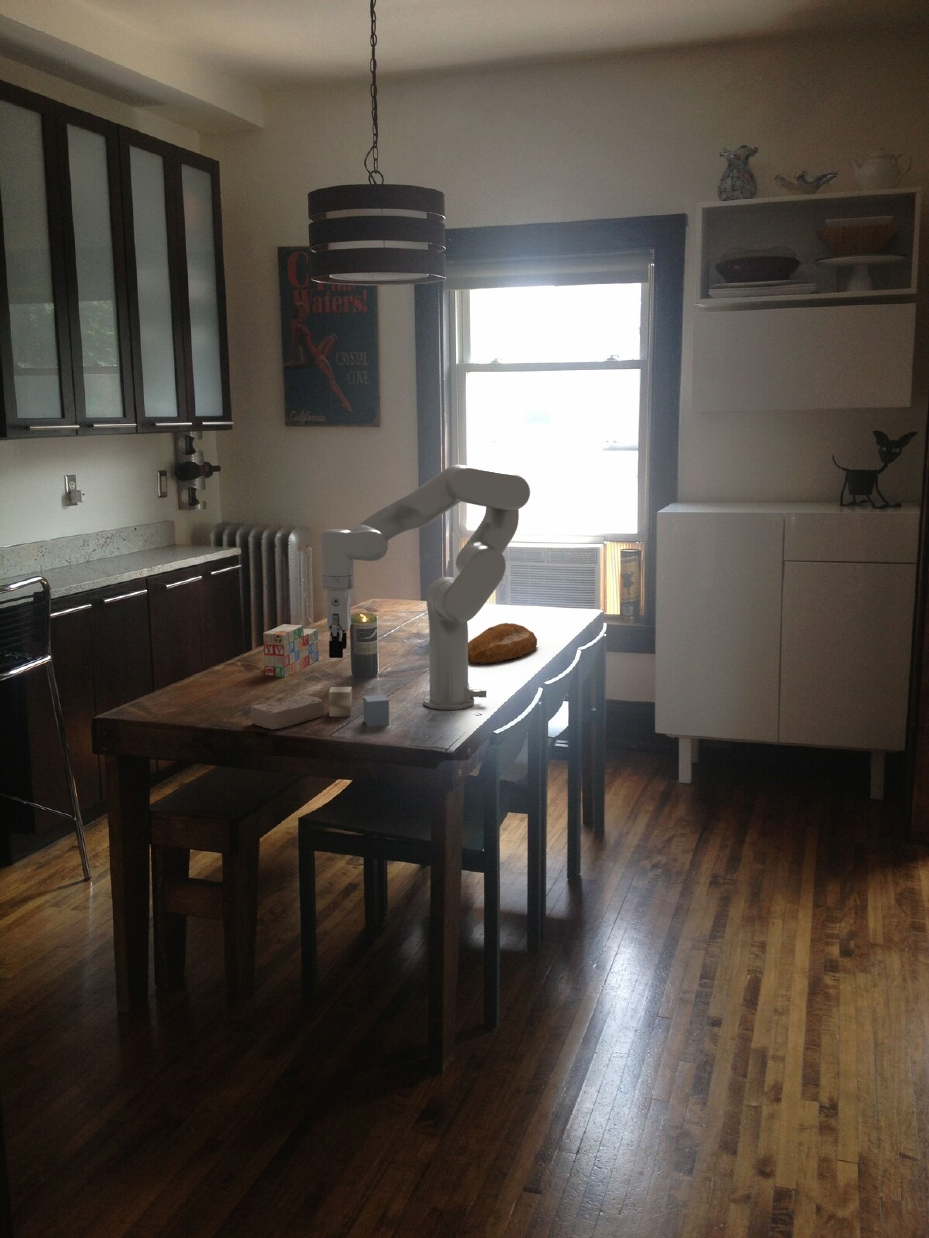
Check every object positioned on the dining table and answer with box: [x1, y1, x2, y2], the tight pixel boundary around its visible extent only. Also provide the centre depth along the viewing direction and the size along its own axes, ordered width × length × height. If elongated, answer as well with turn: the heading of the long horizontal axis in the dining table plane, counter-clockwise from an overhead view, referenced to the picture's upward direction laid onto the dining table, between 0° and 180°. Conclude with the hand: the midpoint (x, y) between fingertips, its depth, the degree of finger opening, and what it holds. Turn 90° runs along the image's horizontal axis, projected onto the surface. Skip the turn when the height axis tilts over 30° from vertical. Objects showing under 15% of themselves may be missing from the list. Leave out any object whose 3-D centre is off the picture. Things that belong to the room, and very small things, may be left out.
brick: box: [249, 694, 325, 730], centre depth 259 cm, size 17×8×5 cm, turn 140°
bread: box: [468, 622, 538, 664], centre depth 326 cm, size 18×35×9 cm, turn 150°
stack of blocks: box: [262, 623, 320, 678], centre depth 308 cm, size 21×6×12 cm, turn 162°
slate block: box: [362, 694, 390, 728], centre depth 256 cm, size 5×5×6 cm
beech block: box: [328, 686, 353, 717], centre depth 264 cm, size 5×5×6 cm
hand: (338, 653), depth 261 cm, fingers open, 9 cm apart
